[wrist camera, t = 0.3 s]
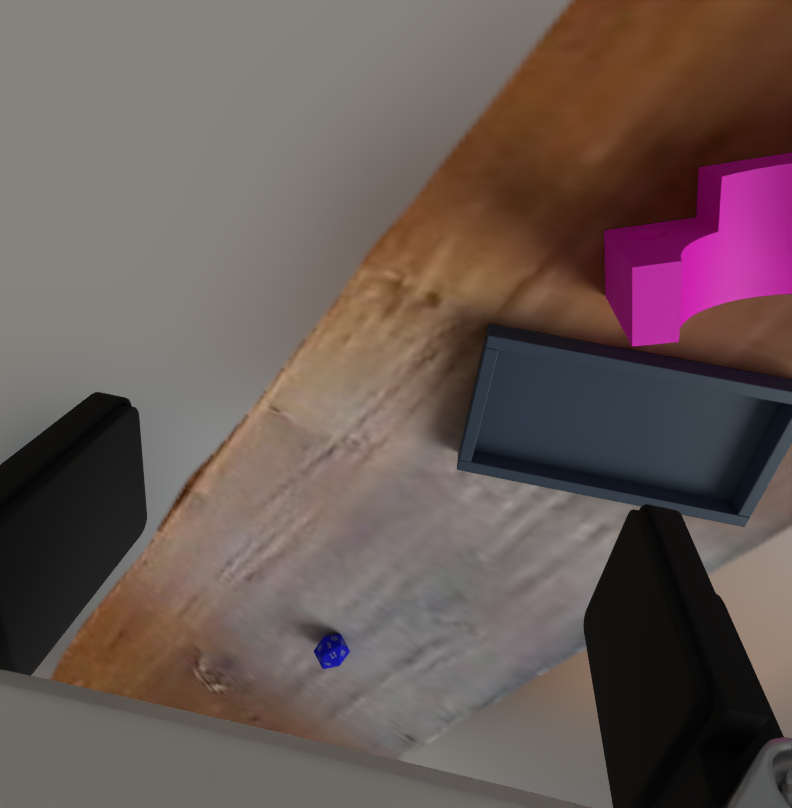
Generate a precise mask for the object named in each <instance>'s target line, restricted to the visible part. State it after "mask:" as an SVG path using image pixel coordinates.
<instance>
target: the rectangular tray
mask: <svg viewBox="0 0 792 808" xmlns="http://www.w3.org/2000/svg"><path fill="white" fill-rule="evenodd" d="M791 443H792V379H786V378H781V377H776V376H770V375H765V374H759V373H754V372H749V371H743V370H738V369H732V368H727V367H721V366H716V365H711V364H705V363H700V362H694V361H689V360H684V359H678V358H673V357H667V356H662V355H657V354H651V353H646V352H640V351H635V350H630V349H624V348H619V347H613V346H608V345H603V344H597V343H592V342H586V341H581V340H576V339H570V338H565V337H559V336H554V335H549V334H543V333H538V332H532V331H527V330H521V329H516V328H511V327H505V326H500V325H494V324H488V328H487V332H486V336H485V341H484V345H483V349H482V354H481V358H480V362H479V367H478V371H477V375H476V379H475V384H474V388H473V392H472V397H471V401H470V405H469V410H468V414H467V418H466V423H465V427H464V431H463V435H462V440H461V444H460V448H459V453H458V463H457V470H462V471H467V472H472V473H477V474H482V475H487V476H492V477H497V478H502V479H507V480H512V481H517V482H522V483H527V484H532V485H537V486H542V487H547V488H552V489H557V490H562V491H567V492H572V493H577V494H582V495H587V496H592V497H597V498H602V499H607V500H612V501H617V502H622V503H627V504H632V505H637V506H643V505H645V504H649V505H654V506H659V507H664V508H669V509H674V510H677V511H679V512H680V514H682V515H687V516H692V517H697V518H702V519H707V520H712V521H717V522H722V523H727V524H732V525H737V526H742V527H745V525H746V524H747V522H748V520H749V517H750V516H751V515H752V513H753V511H754V509H755V507H756V506H757V504H758V502H759V500H760V498H761V497H762V495H763V493H764V491H765V490H766V488H767V486H768V484H769V482H770V481H771V479H772V477H773V475H774V473H775V472H776V470H777V468H778V466H779V465H780V463H781V461H782V459H783V457H784V456H785V454H786V452H787V450H788V449H789V447H790V445H791Z"/></svg>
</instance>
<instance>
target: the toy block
mask: <svg viewBox="0 0 792 808" xmlns="http://www.w3.org/2000/svg"><path fill="white" fill-rule="evenodd" d="M604 249H605V296H606V298H607V300H608V302H609V304H610V306H611V308H612V310H613V311H614V313H615V315H616V317H617V319H618V321H619V323H620V324H621V326H622V328H623V330H624V332H625V334H626V336H627V338H628V339H629V341H630V343H631V345H632V347H633V346H643V345H653V344H662V343H672V342H679V330H680V327H681V326H682V324H683V323H684V322H685V321H686V320H687V319H689V318H690V317H691V316H693V315H695V314H697V313H698V312H700V311H703V310H705V309H707V308H710V307H713V306H716V305H719V304H723V303H726V302H731V301H735V300H740V299H745V298H751V297H758V296H767V295H778V294H792V153H785V154H779V155H773V156H767V157H760V158H754V159H748V160H742V161H736V162H729V163H723V164H717V165H711V166H705V167H699V170H698V191H697V212H696V217H694V218H687V219H680V220H674V221H667V222H660V223H653V224H646V225H639V226H632V227H625V228H618V229H611V230H605V231H604Z"/></svg>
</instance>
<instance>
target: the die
mask: <svg viewBox="0 0 792 808" xmlns="http://www.w3.org/2000/svg"><path fill="white" fill-rule="evenodd" d="M349 652H350V650H349V649H348V647H347V645H346V643H345V641H344V639H343V637H342V636H341V634H337V635H330V636H324V637H323V639H322V640H321V641H320V643H319V644H318V646H317V647H316V648H315V650H314V653H315V655H316V657H317V659H318V661H319V663H320V665H321V666H322V668H323V669H326V668H331V667H337V666H340V665H341V663H342V662H343V661H344V659H345V658H346V656H347V655H348V654H349Z"/></svg>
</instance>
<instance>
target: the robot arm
mask: <svg viewBox="0 0 792 808" xmlns="http://www.w3.org/2000/svg"><path fill="white" fill-rule="evenodd" d="M146 510H147V509H146V498H145V485H144V472H143V459H142V446H141V435H140V422H139V413H138V410H137V409H136V408H135V407H132V406H131V403H130V401H129V399H127V398H124V397H119V396H115V395H110V394H105V393H100V392H95V393H94V394H91V395H90V396H89V397H87V398H86V399H85V400H84V401H82V402H81V403H80V404H78V405H77V406H76V407H74V408H73V409H72V410H71V411H69V412H68V413H67V414H66V415H64V416H63V417H62V418H60V419H59V420H58V421H57V422H55V423H54V424H53V425H51V426H50V427H49V428H47V429H46V430H45V431H43V432H42V433H41V434H40V435H38V436H37V437H36V438H34V439H33V440H32V441H31V442H29V443H28V444H27V445H25V446H24V447H23V448H22V449H20V450H19V451H18V452H16V453H15V454H14V455H13V456H11V457H10V458H9V459H7V460H6V461H5V462H3V463H2V464H1V465H0V808H591V807H587V806H583V805H579V804H575V803H571V802H567V801H564V800H560V799H556V798H552V797H548V796H544V795H540V794H536V793H532V792H528V791H524V790H520V789H516V788H512V787H507V786H503V785H499V784H495V783H491V782H487V781H482V780H477V779H474V778H469V777H466V776H461V775H457V774H453V773H449V772H445V771H440V770H436V769H432V768H428V767H424V766H420V765H415V764H411V763H407V762H403V761H399V760H394V759H390V758H386V757H382V756H378V755H373V754H369V753H365V752H361V751H356V750H352V749H348V748H344V747H339V746H335V745H331V744H326V743H322V742H318V741H314V740H309V739H305V738H301V737H297V736H292V735H288V734H284V733H279V732H275V731H271V730H266V729H262V728H258V727H254V726H249V725H245V724H241V723H236V722H232V721H228V720H223V719H219V718H215V717H210V716H206V715H202V714H198V713H193V712H189V711H185V710H180V709H176V708H171V707H167V706H163V705H158V704H154V703H149V702H145V701H140V700H136V699H132V698H127V697H123V696H118V695H114V694H110V693H105V692H101V691H96V690H92V689H88V688H83V687H79V686H74V685H70V684H66V683H61V682H57V681H52V680H48V679H44V678H39V677H34V676H31V675H32V674H33V672H34V671H35V670H36V669H37V667H38V666H39V665H40V664H41V662H42V661H43V660H44V658H45V657H46V656H47V655H48V653H49V652H50V651H51V649H52V648H53V647H54V646H55V644H56V643H57V642H58V640H59V639H60V638H61V636H62V635H63V634H64V633H65V632H66V630H67V629H68V628H69V626H70V625H71V624H72V623H73V621H74V620H75V618H76V617H77V616H78V615H79V614H80V612H81V611H82V610H83V608H84V607H85V606H86V604H87V603H88V602H89V601H90V599H91V598H92V597H93V596H94V594H95V593H96V592H97V590H98V589H99V588H100V586H101V585H102V584H103V583H104V582H105V580H106V579H107V578H108V576H109V575H110V574H111V572H112V571H113V570H114V569H115V567H116V566H117V565H118V564H119V562H120V561H121V560H122V558H123V557H124V556H125V555H126V553H127V552H128V551H129V549H130V548H131V547H132V546H133V544H134V543H135V542H136V540H137V539H138V538H139V537H140V535H141V534H142V532H143V530H144V528H145V525H146V520H147V511H146ZM584 634H585V640H586V646H587V652H588V658H589V664H590V670H591V677H592V683H593V689H594V694H595V701H596V707H597V712H598V719H599V725H600V731H601V737H602V743H603V749H604V755H605V761H606V766H607V773H608V779H609V785H610V791H611V797H612V803H613V808H792V738H786V737H784V736H783V734H782V732H781V730H780V728H779V725H778V723H777V721H776V718H775V716H774V714H773V712H772V709H771V707H770V705H769V703H768V700H767V698H766V696H765V694H764V691H763V689H762V687H761V685H760V682H759V680H758V678H757V676H756V673H755V671H754V669H753V667H752V665H751V662H750V660H749V658H748V656H747V653H746V651H745V649H744V646H743V644H742V642H741V640H740V638H739V635H738V633H737V631H736V628H735V626H734V624H733V622H732V620H731V617H730V615H729V613H728V611H727V608H726V606H725V604H724V602H723V601H722V599H721V597H720V596H719V595H717V594H716V593H715V591H714V589H713V586H712V584H711V582H710V579H709V577H708V575H707V573H706V570H705V568H704V566H703V563H702V561H701V559H700V557H699V554H698V552H697V550H696V547H695V545H694V543H693V540H692V538H691V536H690V534H689V531H688V529H687V527H686V524H685V522H684V520H683V518H682V515H681V514H680V512H679V511H677V510H674V509H669V508H664V507H659V506H654V505H649V504H645V505H643V506H642V507H641V508H640V510H634V509H633V510H631V511H630V512H629V514H628V516H627V518H626V520H625V522H624V525H623V527H622V529H621V532H620V534H619V536H618V538H617V541H616V543H615V545H614V548H613V550H612V552H611V555H610V557H609V559H608V561H607V564H606V566H605V568H604V571H603V573H602V575H601V577H600V580H599V582H598V584H597V587H596V589H595V591H594V594H593V596H592V598H591V600H590V603H589V605H588V607H587V610H586V613H585V617H584Z"/></svg>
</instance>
